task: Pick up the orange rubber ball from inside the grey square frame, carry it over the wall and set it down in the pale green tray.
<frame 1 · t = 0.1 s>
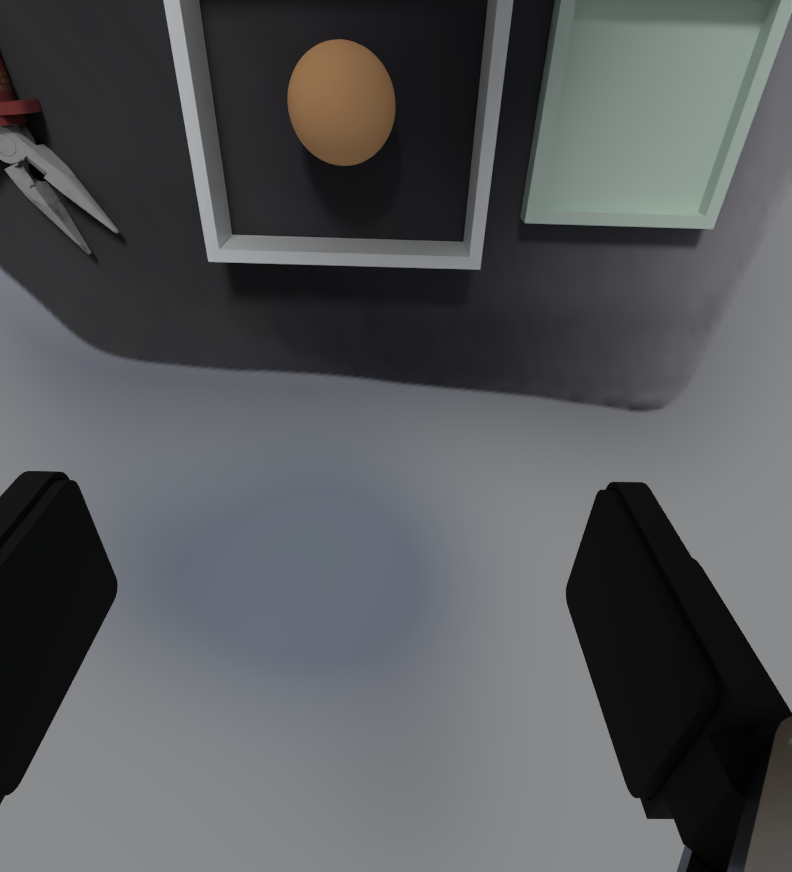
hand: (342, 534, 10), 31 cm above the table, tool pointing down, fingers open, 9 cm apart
ball: (342, 105, 30), point 3 cm above the table
tray: (638, 113, 33), on the table
grey square frame: (345, 102, 32), on the table
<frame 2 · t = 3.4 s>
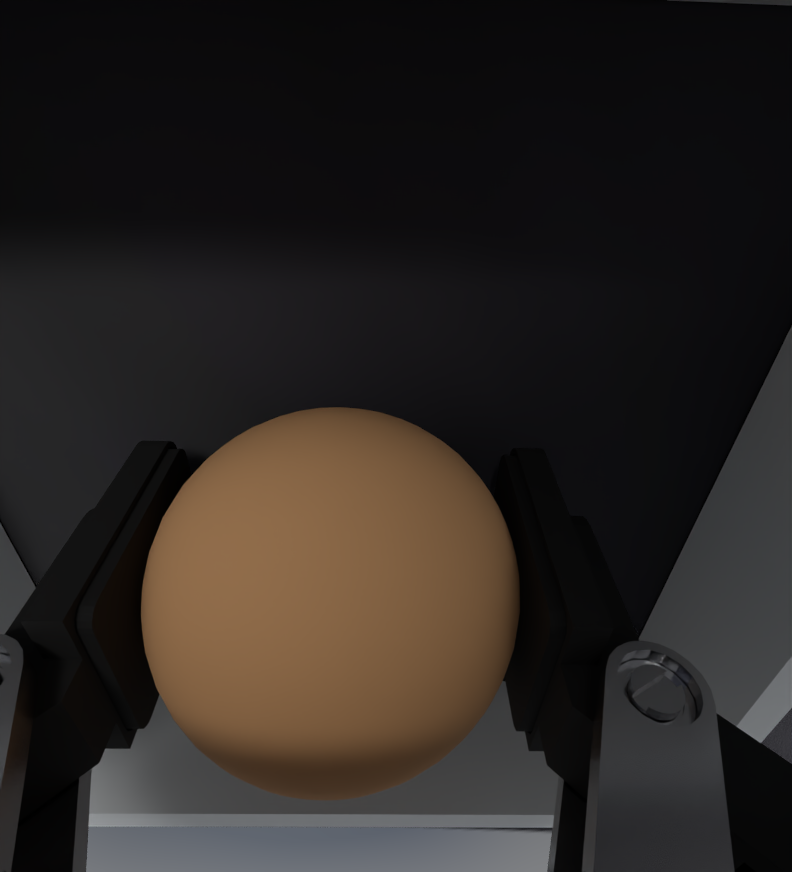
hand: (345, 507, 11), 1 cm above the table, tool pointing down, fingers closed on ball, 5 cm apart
ball: (337, 585, 9), point 3 cm above the table, touching gripper
grey square frame: (349, 472, 11), on the table
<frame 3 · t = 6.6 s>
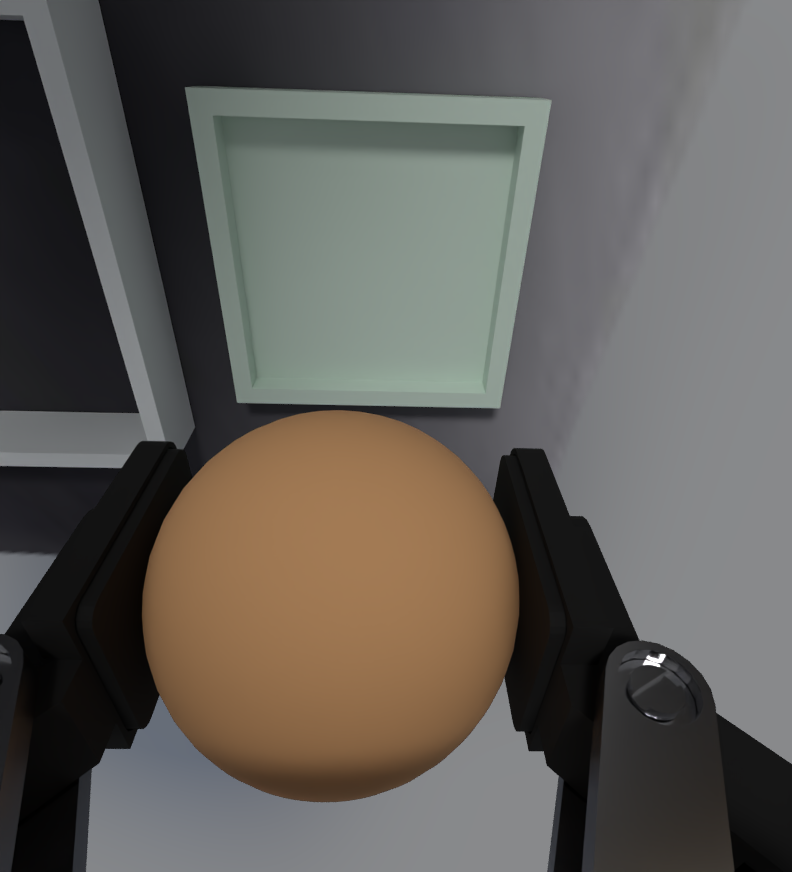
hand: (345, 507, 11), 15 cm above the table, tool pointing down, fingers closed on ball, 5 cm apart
ball: (337, 587, 9), point 17 cm above the table, touching gripper
tray: (370, 264, 23), on the table
when the fingers open (3 cm above the table, at t = 9.7 s): ball drops 2 cm, resting on tray.
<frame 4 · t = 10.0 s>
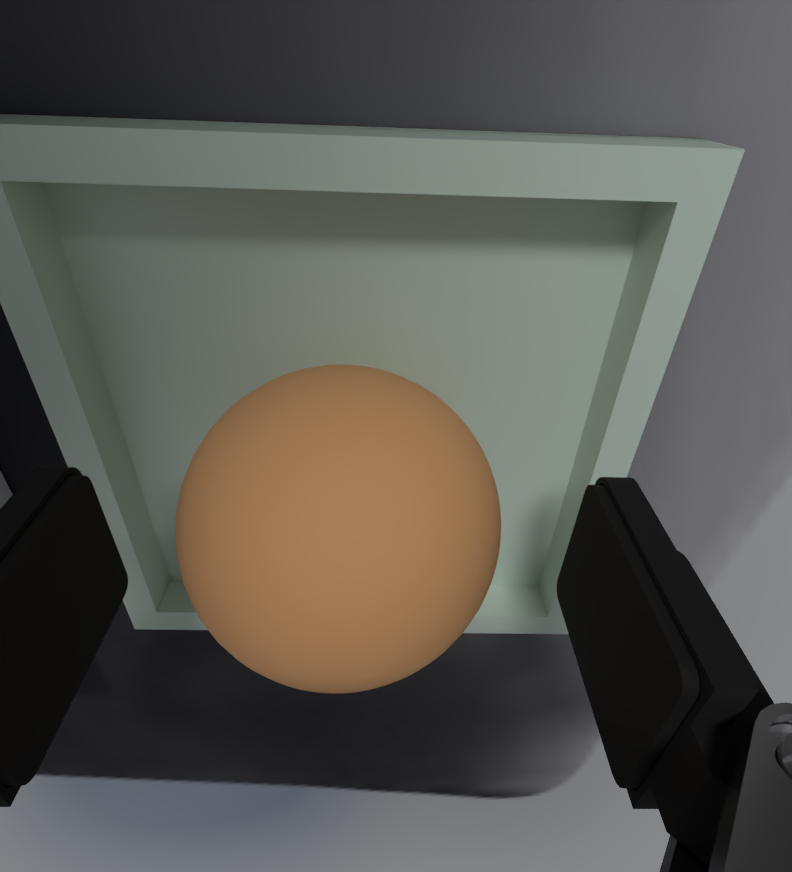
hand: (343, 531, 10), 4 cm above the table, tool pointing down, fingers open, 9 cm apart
ball: (343, 520, 10), point 3 cm above the table, touching tray
tray: (354, 422, 13), on the table
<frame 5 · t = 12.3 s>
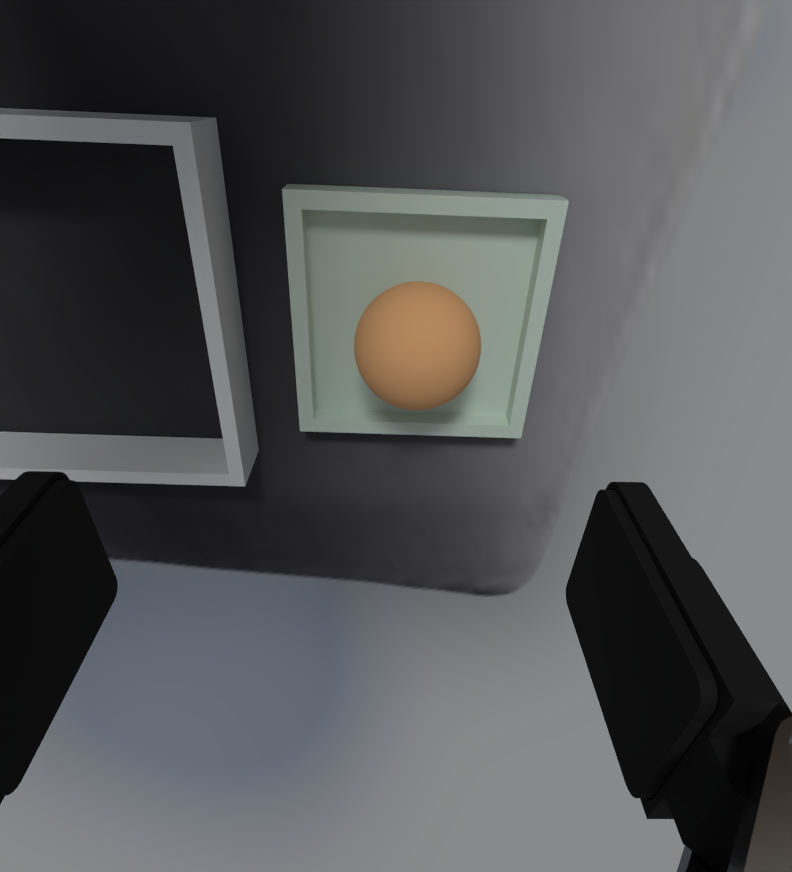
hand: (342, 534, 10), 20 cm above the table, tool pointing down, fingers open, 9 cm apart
ball: (417, 347, 25), point 3 cm above the table, touching tray
tray: (416, 319, 28), on the table
grey square frame: (71, 306, 28), on the table
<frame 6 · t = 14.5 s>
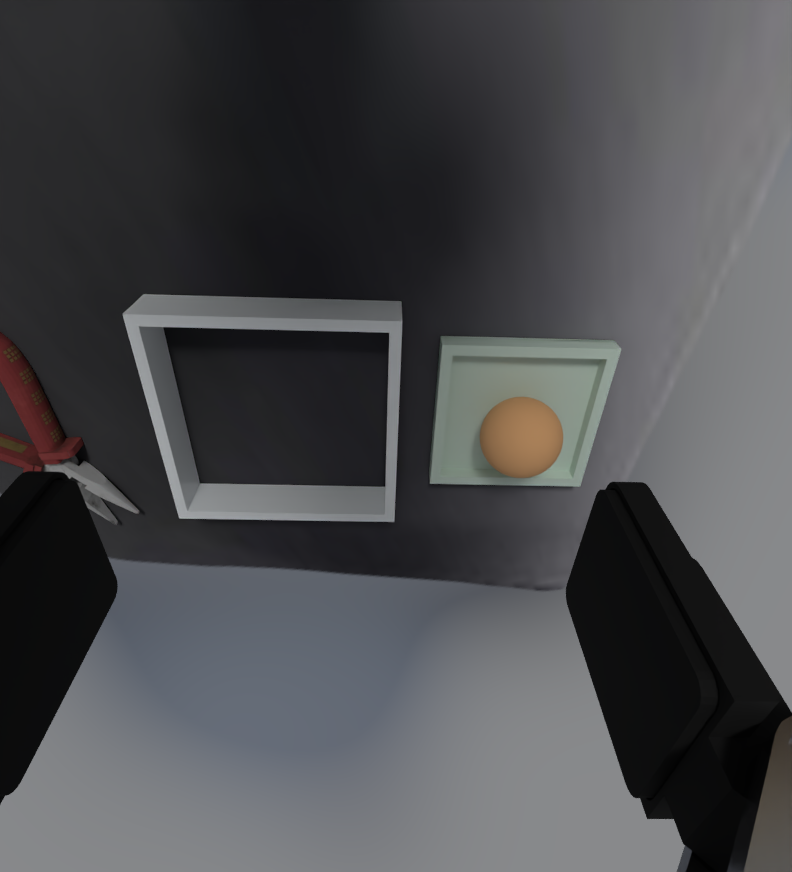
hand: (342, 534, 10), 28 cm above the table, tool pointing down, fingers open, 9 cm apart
ball: (520, 437, 39), point 3 cm above the table, touching tray
tray: (513, 411, 42), on the table
pliers: (16, 427, 43), on the table
grey square frame: (284, 406, 42), on the table
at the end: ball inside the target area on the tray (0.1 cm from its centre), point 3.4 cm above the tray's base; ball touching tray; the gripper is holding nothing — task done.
